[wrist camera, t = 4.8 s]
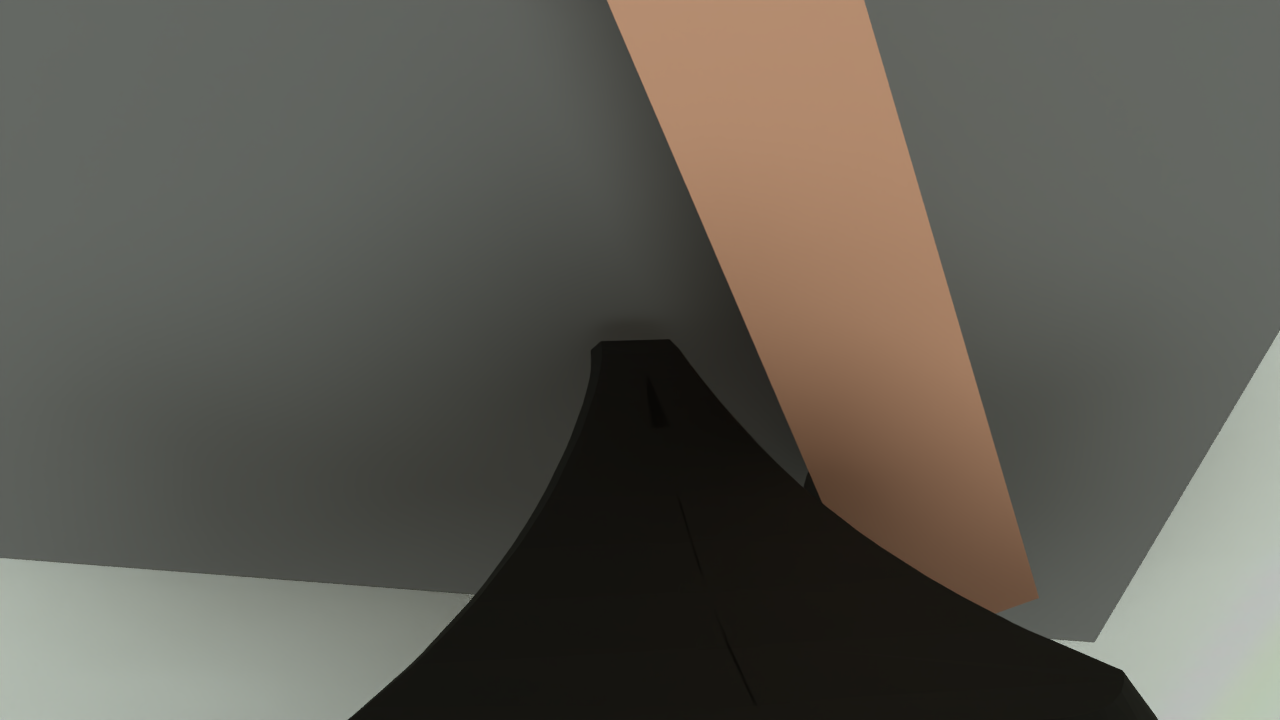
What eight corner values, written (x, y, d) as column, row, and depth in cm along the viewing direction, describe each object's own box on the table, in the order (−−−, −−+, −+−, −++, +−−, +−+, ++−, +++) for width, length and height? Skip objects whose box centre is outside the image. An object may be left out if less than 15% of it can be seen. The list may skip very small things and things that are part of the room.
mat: (1085, 628, 17) (1093, 642, 17) (-248, 521, 14) (-263, 537, 13) (1864, -707, 9) (1903, -718, 9) (-939, -1841, 6) (-1006, -1913, 5)
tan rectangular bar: (454, -304, 9) (423, -297, 6) (690, -424, 9) (783, -480, 6) (809, 506, 14) (886, 725, 11) (964, 447, 14) (1086, 655, 11)
